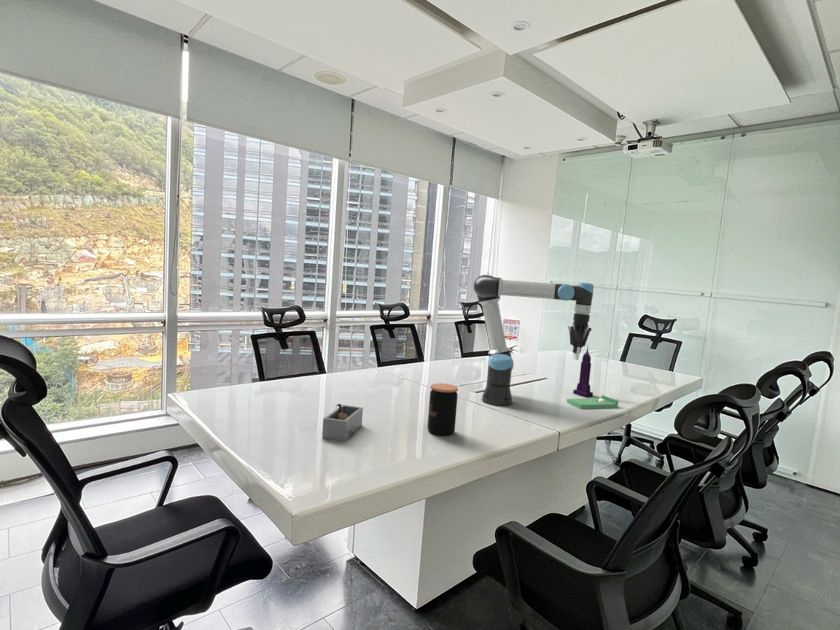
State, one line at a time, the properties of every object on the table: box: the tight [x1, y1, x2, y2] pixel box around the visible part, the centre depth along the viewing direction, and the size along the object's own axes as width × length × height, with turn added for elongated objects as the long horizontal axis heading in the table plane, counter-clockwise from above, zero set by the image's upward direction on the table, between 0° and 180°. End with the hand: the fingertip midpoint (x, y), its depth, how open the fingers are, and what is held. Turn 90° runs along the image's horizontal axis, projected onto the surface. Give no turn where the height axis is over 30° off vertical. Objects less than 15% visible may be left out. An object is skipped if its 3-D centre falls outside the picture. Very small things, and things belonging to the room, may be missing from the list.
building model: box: [572, 345, 594, 398], centre depth 253 cm, size 9×6×30 cm
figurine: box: [335, 403, 355, 435], centre depth 168 cm, size 14×4×9 cm, turn 30°
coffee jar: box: [427, 382, 459, 437], centre depth 175 cm, size 11×11×18 cm
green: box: [566, 394, 619, 410], centre depth 233 cm, size 23×11×4 cm, turn 108°
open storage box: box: [321, 404, 364, 442], centre depth 168 cm, size 8×18×7 cm, turn 168°
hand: (575, 359), depth 228 cm, fingers closed
